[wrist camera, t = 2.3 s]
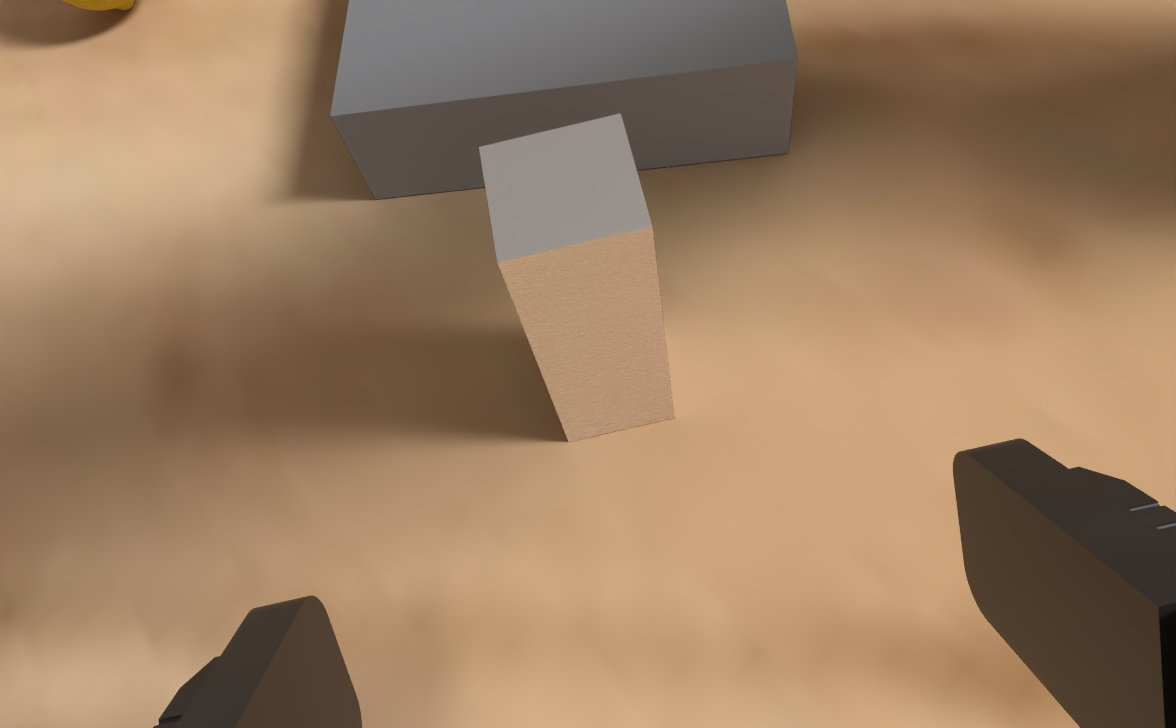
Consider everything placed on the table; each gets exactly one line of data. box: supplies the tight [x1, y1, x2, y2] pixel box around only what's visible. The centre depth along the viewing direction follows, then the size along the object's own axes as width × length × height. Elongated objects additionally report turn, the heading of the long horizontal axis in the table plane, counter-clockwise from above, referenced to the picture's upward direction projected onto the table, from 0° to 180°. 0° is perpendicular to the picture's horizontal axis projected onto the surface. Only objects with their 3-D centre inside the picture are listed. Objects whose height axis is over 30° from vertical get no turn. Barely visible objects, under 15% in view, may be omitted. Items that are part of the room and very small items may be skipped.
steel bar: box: [479, 113, 675, 442], centre depth 24 cm, size 4×4×10 cm
